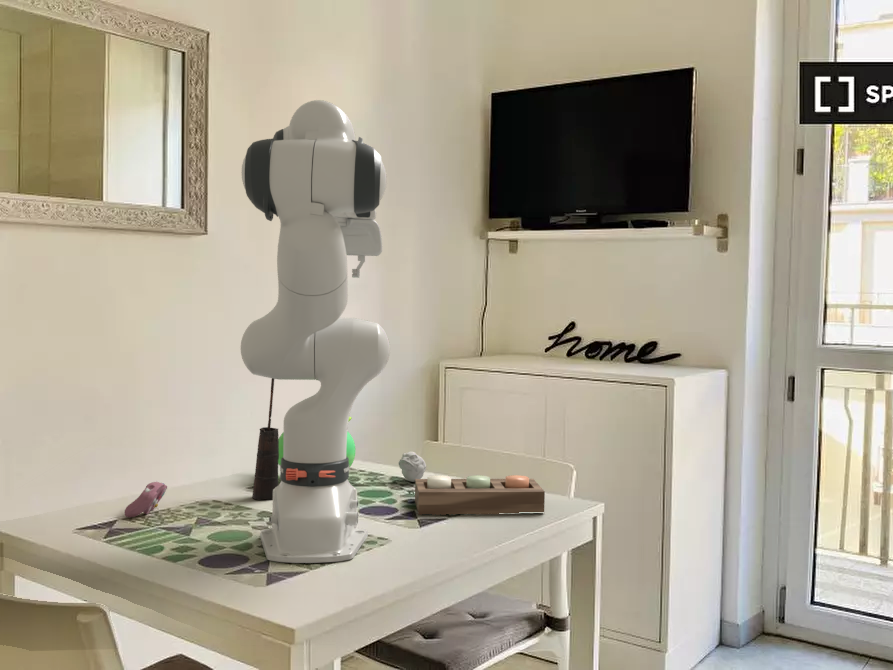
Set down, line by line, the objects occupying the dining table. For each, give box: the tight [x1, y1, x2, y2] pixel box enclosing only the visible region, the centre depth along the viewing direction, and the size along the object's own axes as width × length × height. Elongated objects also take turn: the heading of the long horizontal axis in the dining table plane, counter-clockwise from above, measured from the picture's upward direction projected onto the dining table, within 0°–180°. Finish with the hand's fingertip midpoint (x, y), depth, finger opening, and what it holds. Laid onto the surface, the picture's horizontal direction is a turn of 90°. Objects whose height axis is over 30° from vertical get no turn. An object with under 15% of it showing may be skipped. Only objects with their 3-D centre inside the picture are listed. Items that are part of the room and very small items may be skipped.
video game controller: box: [124, 481, 168, 518], centre depth 175 cm, size 10×5×7 cm, turn 1°
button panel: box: [414, 478, 546, 516], centre depth 183 cm, size 12×25×4 cm, turn 96°
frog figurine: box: [398, 451, 427, 483], centre depth 206 cm, size 6×7×7 cm
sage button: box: [466, 474, 491, 489], centre depth 183 cm, size 5×5×2 cm
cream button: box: [426, 475, 452, 489], centre depth 182 cm, size 5×5×2 cm
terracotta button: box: [504, 474, 530, 488], centre depth 184 cm, size 5×5×2 cm
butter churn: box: [252, 378, 280, 501], centre depth 186 cm, size 9×10×28 cm
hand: (333, 277), depth 187 cm, fingers open, 8 cm apart
